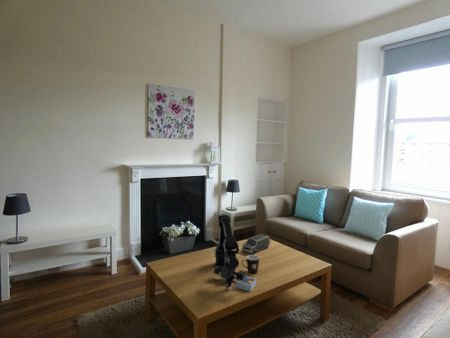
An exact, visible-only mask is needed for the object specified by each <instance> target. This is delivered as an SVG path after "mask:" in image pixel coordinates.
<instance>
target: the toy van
mask: <svg viewBox="0 0 450 338" xmlns="http://www.w3.org/2000/svg"><path fill="white" fill-rule="evenodd" d="M270 244H271V239H270V237H269V236H268V235H265V234H262V233H261V234H257V235H255V236H251V237H249V238H248V239H247V240H246V242H245V243H243V244H242V247H241V249H242V251H243V252H248V253H249V254H251V255H256V252H258V251H261V250H263V249H264V250H266V249H268V247H270V246H271V245H270Z"/></svg>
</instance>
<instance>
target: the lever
mask: <svg viewBox="0 0 450 338" xmlns="http://www.w3.org/2000/svg"><path fill="white" fill-rule="evenodd" d="M212 273H213V275H217V276H218V277H221V273H219V274H216V273H214V270H213V271H212ZM221 278H222V277H221ZM236 281H237V282H240V280H239V279H237V278H235V279H234V280H233V282H232V285H231V287H230V286H228V284H226V286H225V289H227V290H232V288H233V287H234V286H236Z"/></svg>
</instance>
